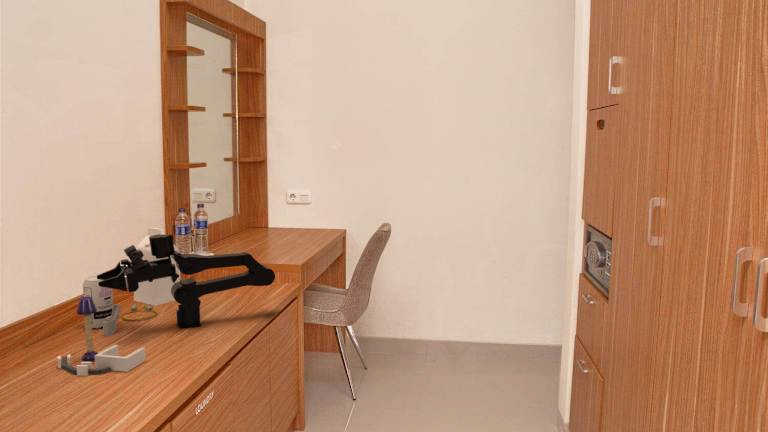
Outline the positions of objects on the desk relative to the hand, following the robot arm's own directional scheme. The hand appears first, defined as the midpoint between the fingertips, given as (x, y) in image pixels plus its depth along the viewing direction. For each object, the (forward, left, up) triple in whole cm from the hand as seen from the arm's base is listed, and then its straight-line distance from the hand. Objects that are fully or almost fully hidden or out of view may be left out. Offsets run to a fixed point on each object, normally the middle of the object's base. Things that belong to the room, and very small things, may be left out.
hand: (97, 280), depth 175 cm
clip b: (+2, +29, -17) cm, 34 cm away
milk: (-17, -36, -17) cm, 44 cm away
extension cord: (-11, -19, -17) cm, 28 cm away
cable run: (+2, +24, -17) cm, 30 cm away
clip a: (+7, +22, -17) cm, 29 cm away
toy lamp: (+2, +19, -17) cm, 25 cm away
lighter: (-3, -2, -17) cm, 17 cm away
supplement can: (+1, -11, -17) cm, 20 cm away
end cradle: (-6, +26, -17) cm, 31 cm away
